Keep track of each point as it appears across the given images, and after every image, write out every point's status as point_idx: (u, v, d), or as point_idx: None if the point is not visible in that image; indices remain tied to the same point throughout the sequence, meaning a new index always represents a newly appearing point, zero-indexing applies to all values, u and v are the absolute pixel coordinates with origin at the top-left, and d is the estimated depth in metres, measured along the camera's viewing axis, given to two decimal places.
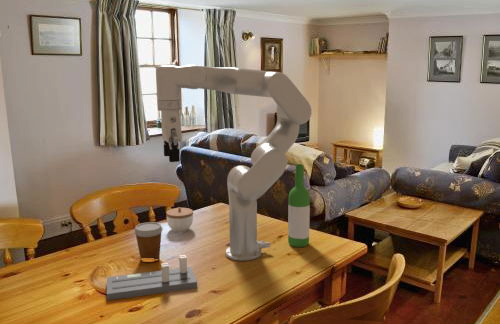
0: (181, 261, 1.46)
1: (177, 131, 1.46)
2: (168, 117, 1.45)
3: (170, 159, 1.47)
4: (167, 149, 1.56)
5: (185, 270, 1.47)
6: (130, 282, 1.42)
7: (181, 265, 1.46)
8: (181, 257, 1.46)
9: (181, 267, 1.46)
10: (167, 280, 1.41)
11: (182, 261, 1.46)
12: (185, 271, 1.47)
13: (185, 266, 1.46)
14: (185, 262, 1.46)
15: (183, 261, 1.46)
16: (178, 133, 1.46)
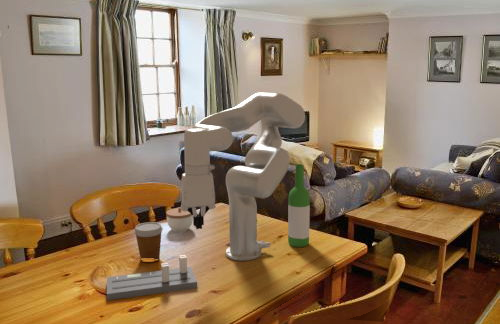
0: (181, 261, 1.46)
1: None
2: None
3: (201, 226, 1.45)
4: None
5: (185, 270, 1.47)
6: (130, 282, 1.42)
7: (181, 265, 1.46)
8: (181, 257, 1.46)
9: (181, 267, 1.46)
10: (167, 280, 1.41)
11: (182, 261, 1.46)
12: (185, 271, 1.47)
13: (185, 266, 1.46)
14: (185, 262, 1.46)
15: (183, 261, 1.46)
16: None
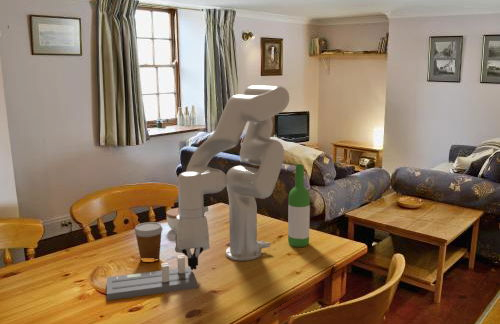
0: (179, 261, 1.45)
1: None
2: None
3: None
4: None
5: (183, 270, 1.46)
6: (130, 282, 1.42)
7: (179, 265, 1.46)
8: (179, 257, 1.46)
9: (179, 267, 1.46)
10: (167, 280, 1.41)
11: (180, 261, 1.46)
12: (183, 271, 1.46)
13: (183, 266, 1.46)
14: (183, 262, 1.46)
15: (181, 261, 1.46)
16: None
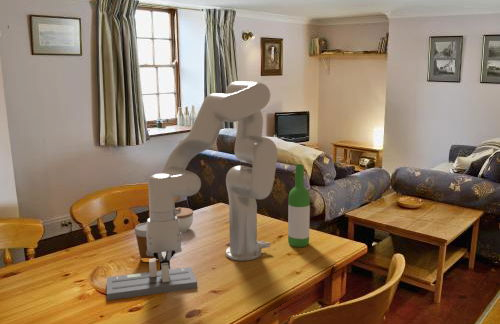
0: (150, 265, 1.43)
1: None
2: (178, 224, 1.43)
3: None
4: None
5: (155, 274, 1.44)
6: (130, 282, 1.42)
7: (150, 268, 1.43)
8: (150, 261, 1.43)
9: (150, 271, 1.44)
10: (167, 280, 1.41)
11: (152, 265, 1.43)
12: (155, 275, 1.44)
13: (155, 270, 1.44)
14: (154, 266, 1.44)
15: (152, 265, 1.43)
16: None
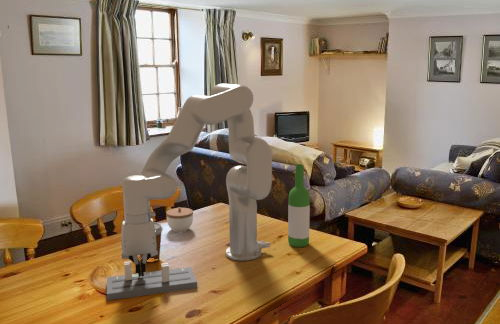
0: (125, 268, 1.41)
1: None
2: (154, 227, 1.41)
3: (143, 273, 1.43)
4: (140, 268, 1.43)
5: (130, 277, 1.42)
6: (130, 282, 1.42)
7: (125, 272, 1.41)
8: (126, 264, 1.41)
9: (126, 274, 1.42)
10: (167, 280, 1.41)
11: (127, 268, 1.41)
12: (130, 278, 1.42)
13: (130, 273, 1.42)
14: (130, 269, 1.42)
15: (128, 268, 1.41)
16: None
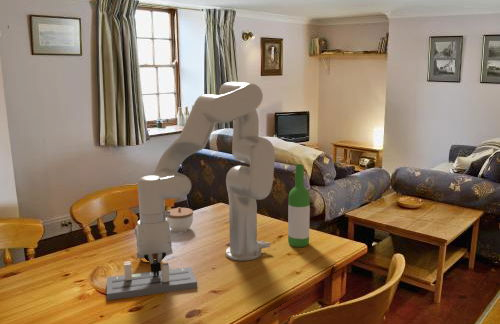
0: (125, 268, 1.41)
1: None
2: (168, 226, 1.42)
3: (158, 272, 1.44)
4: None
5: (130, 277, 1.42)
6: (130, 282, 1.42)
7: (125, 272, 1.41)
8: (125, 264, 1.41)
9: (125, 274, 1.42)
10: (167, 280, 1.41)
11: (126, 268, 1.41)
12: (130, 278, 1.42)
13: (130, 273, 1.42)
14: (129, 269, 1.42)
15: (127, 268, 1.41)
16: None
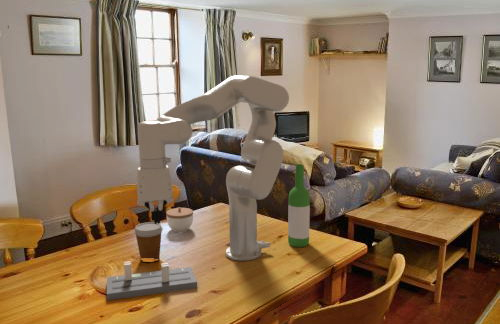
0: (125, 268, 1.41)
1: None
2: (169, 173, 1.40)
3: (159, 220, 1.42)
4: None
5: (130, 277, 1.42)
6: (130, 282, 1.42)
7: (125, 272, 1.41)
8: (125, 264, 1.41)
9: (125, 274, 1.42)
10: (167, 280, 1.41)
11: (126, 268, 1.41)
12: (130, 278, 1.42)
13: (130, 273, 1.42)
14: (129, 269, 1.42)
15: (127, 268, 1.41)
16: None
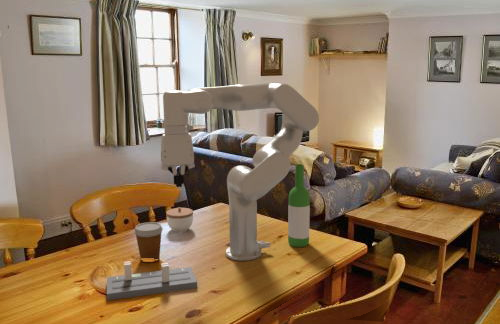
0: (125, 268, 1.41)
1: None
2: (191, 140, 1.50)
3: (181, 184, 1.52)
4: None
5: (130, 277, 1.42)
6: (130, 282, 1.42)
7: (125, 272, 1.41)
8: (125, 264, 1.41)
9: (125, 274, 1.42)
10: (167, 280, 1.41)
11: (126, 268, 1.41)
12: (130, 278, 1.42)
13: (130, 273, 1.42)
14: (129, 269, 1.42)
15: (127, 268, 1.41)
16: None
